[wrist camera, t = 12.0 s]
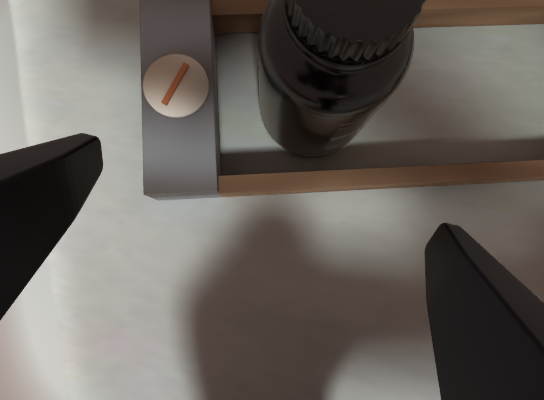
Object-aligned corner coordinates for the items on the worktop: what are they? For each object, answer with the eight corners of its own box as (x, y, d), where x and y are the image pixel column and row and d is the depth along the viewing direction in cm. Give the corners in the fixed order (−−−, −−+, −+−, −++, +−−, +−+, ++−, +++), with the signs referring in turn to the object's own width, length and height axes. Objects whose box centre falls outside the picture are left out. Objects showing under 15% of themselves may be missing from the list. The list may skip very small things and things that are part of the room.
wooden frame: (625, 175, 24) (689, 164, 21) (158, 200, 23) (140, 193, 19) (597, 8, 26) (653, -29, 22) (153, 21, 24) (136, -18, 20)
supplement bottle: (359, 59, 24) (458, -113, 12) (362, 159, 24) (471, 77, 12) (257, 57, 24) (259, -121, 12) (257, 158, 23) (259, 73, 11)
